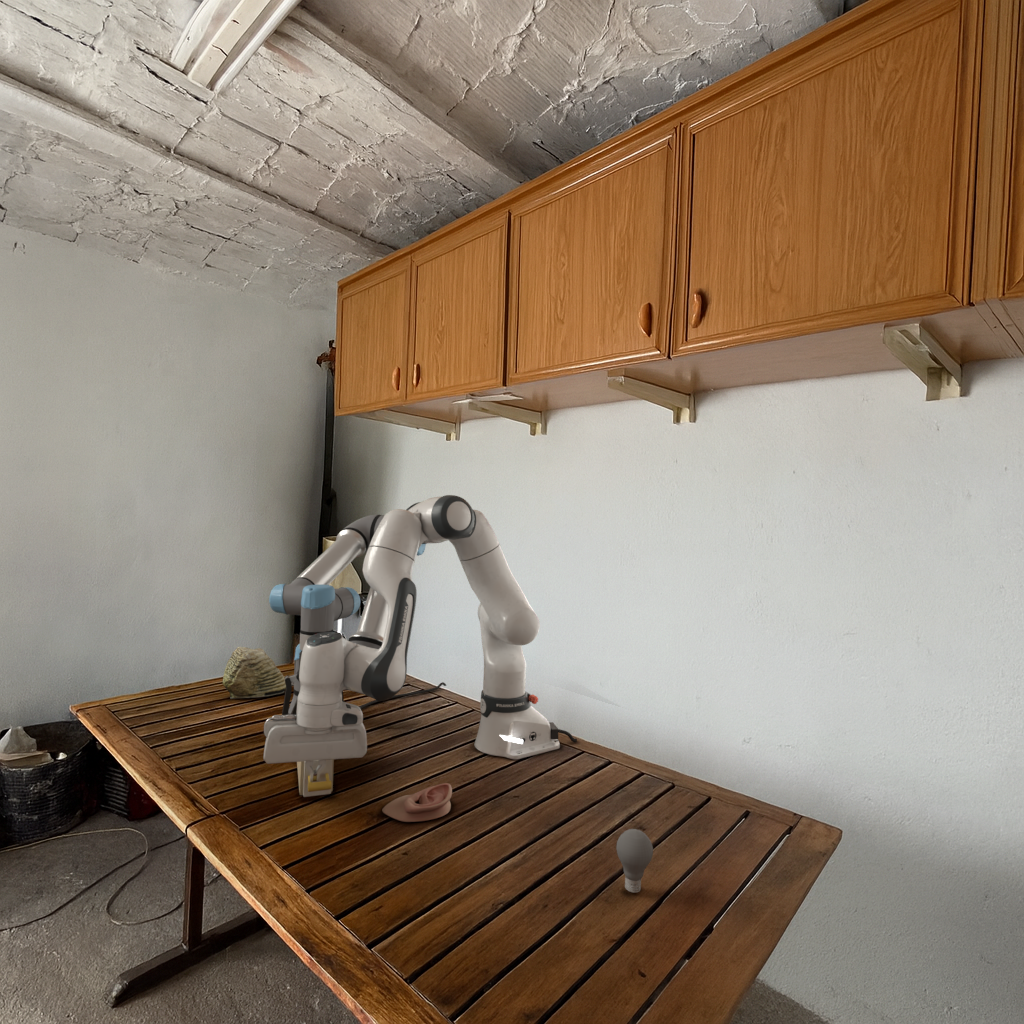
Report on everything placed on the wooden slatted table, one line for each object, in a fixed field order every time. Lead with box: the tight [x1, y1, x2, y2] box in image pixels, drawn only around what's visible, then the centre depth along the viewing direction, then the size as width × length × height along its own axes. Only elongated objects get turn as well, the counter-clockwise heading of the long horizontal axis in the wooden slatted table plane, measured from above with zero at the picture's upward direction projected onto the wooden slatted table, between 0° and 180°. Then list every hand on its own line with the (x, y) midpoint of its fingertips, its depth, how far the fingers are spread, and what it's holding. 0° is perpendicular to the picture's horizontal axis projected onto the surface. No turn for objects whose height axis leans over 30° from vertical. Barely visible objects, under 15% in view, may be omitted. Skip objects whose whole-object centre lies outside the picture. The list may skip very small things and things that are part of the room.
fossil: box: [222, 646, 286, 699], centre depth 198 cm, size 9×18×15 cm, turn 132°
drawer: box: [302, 760, 332, 798], centre depth 139 cm, size 26×6×8 cm, turn 21°
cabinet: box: [296, 759, 335, 796], centre depth 145 cm, size 22×7×9 cm, turn 21°
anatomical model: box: [382, 782, 453, 823], centre depth 130 cm, size 13×4×12 cm
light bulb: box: [615, 828, 654, 894], centre depth 106 cm, size 6×6×10 cm
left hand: (312, 746), depth 151 cm, fingers closed on cabinet, 7 cm apart
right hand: (314, 780), depth 130 cm, fingers closed, pressing on drawer
